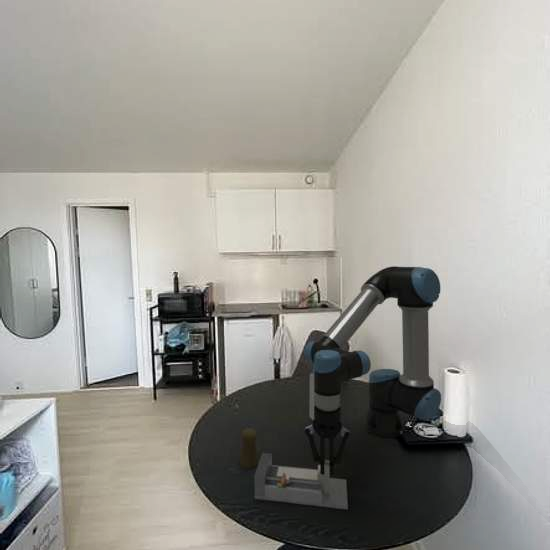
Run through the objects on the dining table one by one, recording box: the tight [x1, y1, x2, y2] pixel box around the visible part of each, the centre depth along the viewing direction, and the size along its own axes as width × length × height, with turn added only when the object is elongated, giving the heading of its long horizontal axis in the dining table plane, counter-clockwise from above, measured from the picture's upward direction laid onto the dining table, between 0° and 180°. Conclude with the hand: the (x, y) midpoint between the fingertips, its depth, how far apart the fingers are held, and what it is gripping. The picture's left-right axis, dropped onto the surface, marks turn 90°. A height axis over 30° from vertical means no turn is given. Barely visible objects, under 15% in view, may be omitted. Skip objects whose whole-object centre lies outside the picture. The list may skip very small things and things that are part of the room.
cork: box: [239, 428, 259, 469], centre depth 114 cm, size 6×6×11 cm
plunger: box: [277, 464, 324, 491], centre depth 101 cm, size 14×7×5 cm, turn 80°
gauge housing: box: [254, 452, 349, 510], centre depth 101 cm, size 26×11×7 cm, turn 80°
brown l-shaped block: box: [277, 473, 286, 486], centre depth 97 cm, size 2×4×5 cm, turn 171°
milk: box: [309, 368, 315, 421], centre depth 144 cm, size 6×6×22 cm
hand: (326, 484), depth 100 cm, fingers closed
